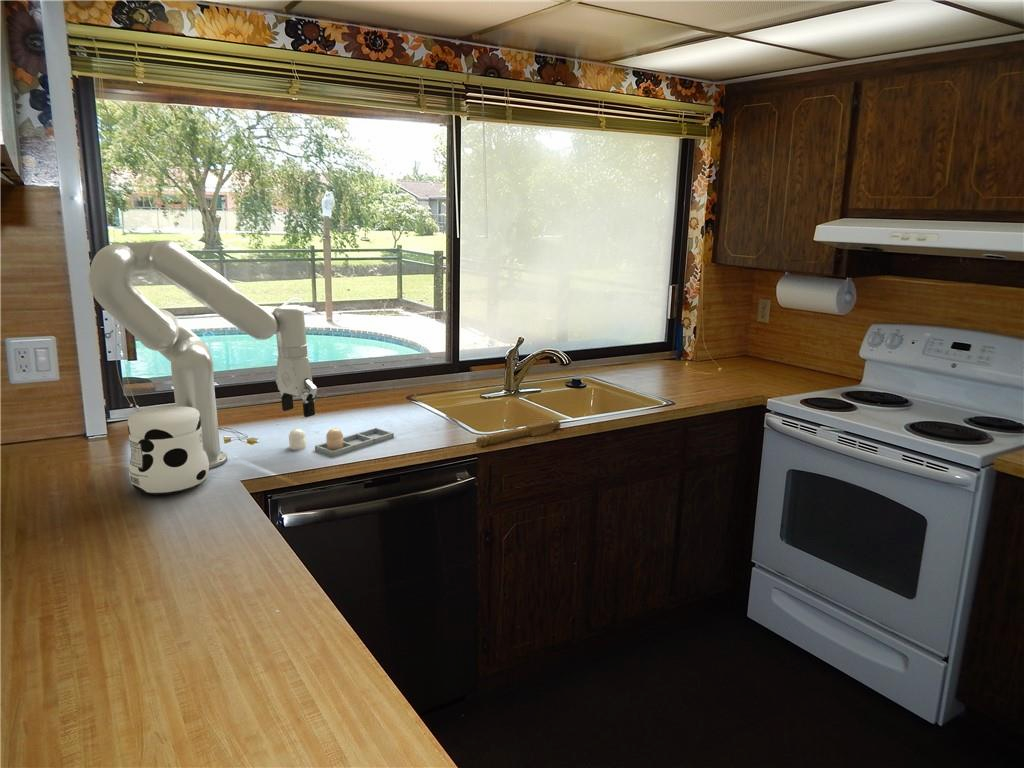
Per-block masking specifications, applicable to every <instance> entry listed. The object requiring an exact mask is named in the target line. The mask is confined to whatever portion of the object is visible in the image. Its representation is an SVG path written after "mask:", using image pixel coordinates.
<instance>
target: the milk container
mask: <svg viewBox="0 0 1024 768" xmlns="http://www.w3.org/2000/svg"><path fill="white" fill-rule="evenodd" d="M127 432H128V440H129V447H130V461H129V465H128V466H129V468H128V475H129V479H130V483H131V485H132V486H133V488H134V489H135V490H136V491H137V492H139V493H142V494H146V495H153V496H160V495H161V496H164V495H165V496H166V495H173V494H180V493H183V492H186V491H189V490H193V489H194V488H196V487H199V486H200V485H202V484H203V483H204V482H205V481H207V478H208V477H209V470H210V468H209V460H208V457H207V454H206V452H205V449H204V446H203V441H202V428H201V418H200V414H199V411H198V410H197V409H195V408H191V407H184V406H176V405H172V406H171V405H170V406H169V405H168V406H161V407H160V406H159V407H154V408H147V409H144V410H141V411H137V412H134V413H133V414H131V415H129V417H128V419H127Z"/></svg>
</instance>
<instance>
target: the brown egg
mask: <svg viewBox="0 0 1024 768" xmlns="http://www.w3.org/2000/svg"><path fill="white" fill-rule="evenodd" d="M325 437H326V442H327V449H329V450H331V451H335V450H338V449H341V448H343V437H344V434H343V432H342V431H341V430H340V429H339V428H336V427H334V428H331V429H329V430H328V431H327V433H326V436H325Z"/></svg>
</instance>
